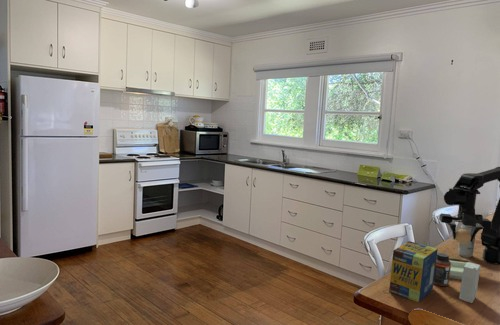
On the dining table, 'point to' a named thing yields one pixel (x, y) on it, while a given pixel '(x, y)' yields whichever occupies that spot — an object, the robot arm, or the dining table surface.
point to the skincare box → (469, 282)
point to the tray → (457, 269)
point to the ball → (463, 236)
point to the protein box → (413, 270)
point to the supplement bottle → (442, 270)
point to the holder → (460, 260)
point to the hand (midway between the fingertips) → (462, 240)
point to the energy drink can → (467, 248)
